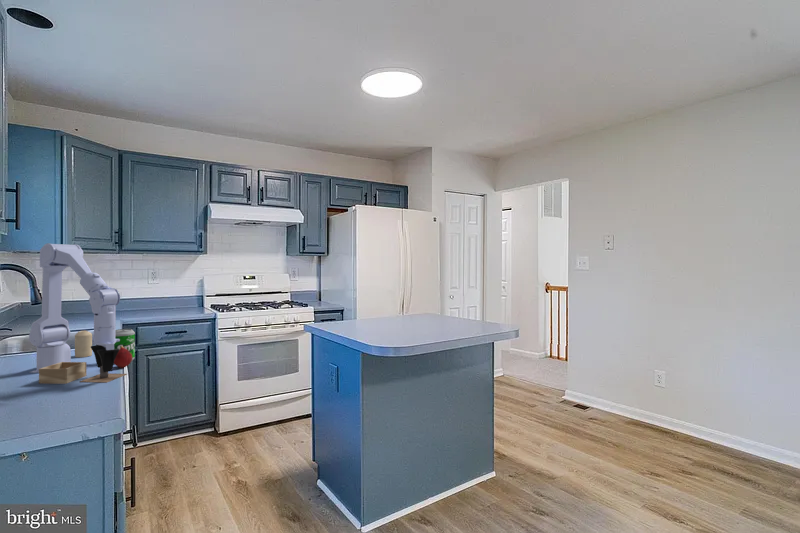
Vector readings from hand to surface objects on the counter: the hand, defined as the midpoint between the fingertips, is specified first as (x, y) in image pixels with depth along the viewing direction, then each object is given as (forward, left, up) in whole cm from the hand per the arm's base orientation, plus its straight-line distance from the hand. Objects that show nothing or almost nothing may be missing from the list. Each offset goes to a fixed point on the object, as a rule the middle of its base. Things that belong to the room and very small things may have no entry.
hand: (104, 369), depth 138 cm
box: (+2, -12, -3) cm, 12 cm away
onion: (-14, -3, -4) cm, 15 cm away
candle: (-33, -30, -4) cm, 45 cm away
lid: (0, 0, -3) cm, 3 cm away
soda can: (-24, -9, -4) cm, 26 cm away
